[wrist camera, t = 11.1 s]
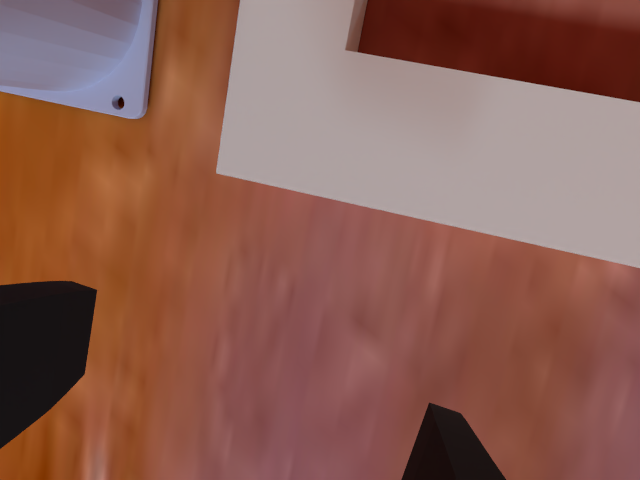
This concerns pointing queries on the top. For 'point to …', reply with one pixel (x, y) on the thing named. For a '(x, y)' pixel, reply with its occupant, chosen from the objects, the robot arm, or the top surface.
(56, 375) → the robot arm
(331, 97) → the puzzle board
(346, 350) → the top surface
